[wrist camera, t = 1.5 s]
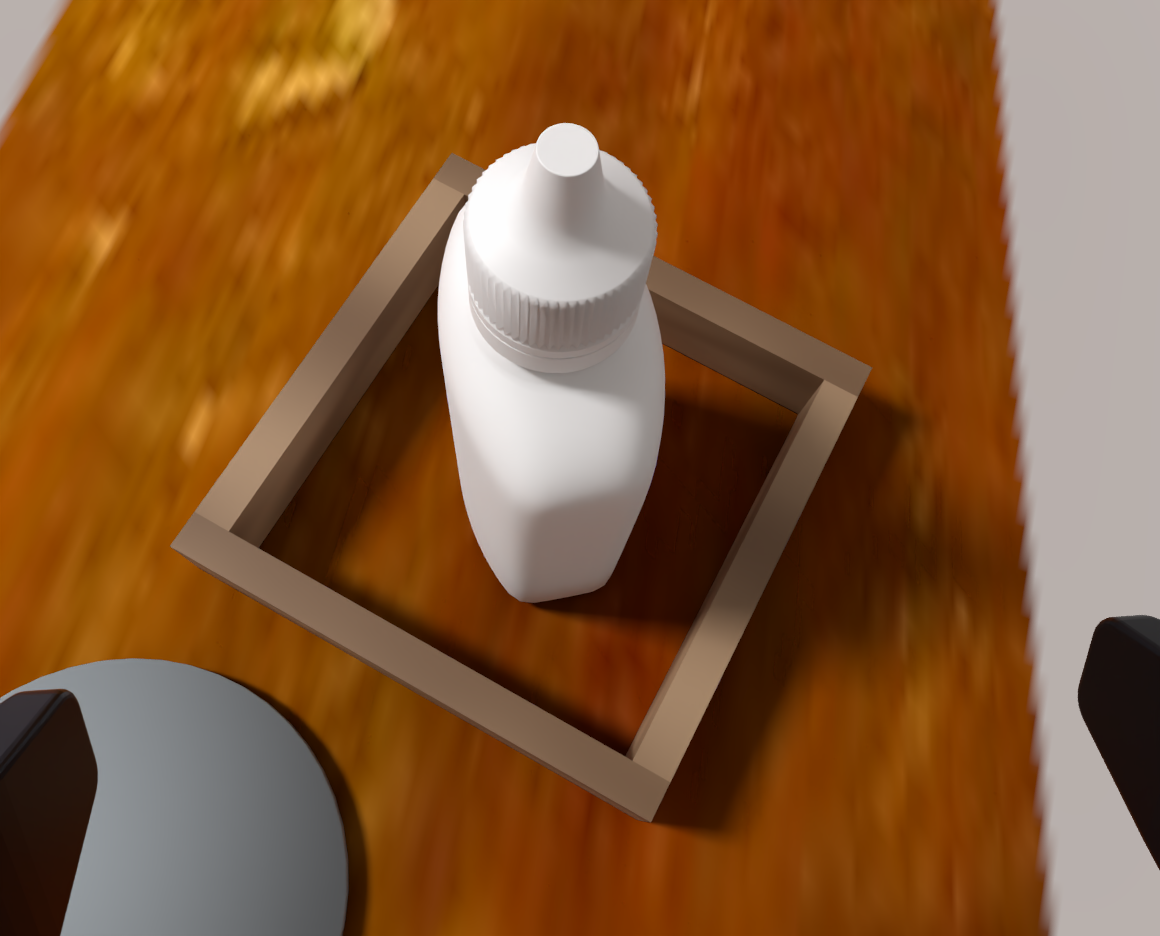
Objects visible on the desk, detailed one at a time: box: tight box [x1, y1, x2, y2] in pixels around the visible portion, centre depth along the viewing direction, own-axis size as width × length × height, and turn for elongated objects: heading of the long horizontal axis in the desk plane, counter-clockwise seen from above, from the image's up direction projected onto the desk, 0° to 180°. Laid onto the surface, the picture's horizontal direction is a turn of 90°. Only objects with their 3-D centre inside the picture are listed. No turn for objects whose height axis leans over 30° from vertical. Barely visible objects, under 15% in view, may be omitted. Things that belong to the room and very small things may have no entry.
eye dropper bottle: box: [438, 123, 665, 603], centre depth 16 cm, size 4×6×12 cm
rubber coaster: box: [0, 659, 349, 936], centre depth 19 cm, size 9×9×1 cm
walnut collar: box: [170, 153, 872, 822], centre depth 21 cm, size 11×11×2 cm
